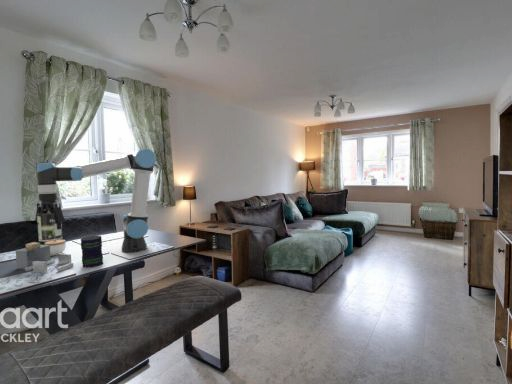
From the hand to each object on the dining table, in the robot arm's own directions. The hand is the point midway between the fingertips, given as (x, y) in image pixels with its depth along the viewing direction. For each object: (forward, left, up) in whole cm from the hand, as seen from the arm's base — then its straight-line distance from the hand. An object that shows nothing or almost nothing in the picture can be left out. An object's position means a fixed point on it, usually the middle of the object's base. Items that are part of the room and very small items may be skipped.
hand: (50, 234), depth 143 cm
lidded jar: (+24, -20, -18) cm, 36 cm away
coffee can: (0, 0, -2) cm, 2 cm away
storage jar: (-17, -9, -18) cm, 26 cm away
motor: (+5, 0, -18) cm, 18 cm away
